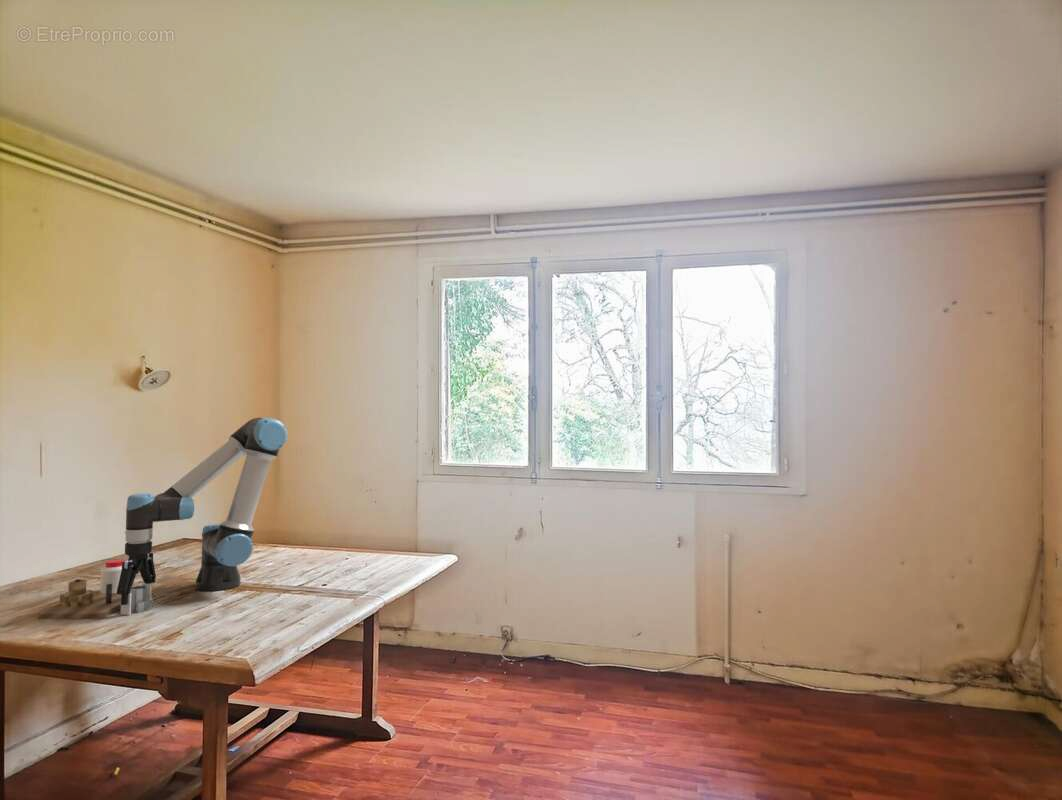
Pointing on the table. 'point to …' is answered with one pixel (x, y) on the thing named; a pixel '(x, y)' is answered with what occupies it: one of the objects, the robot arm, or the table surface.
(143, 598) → the steel gear
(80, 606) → the gear board
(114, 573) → the pill bottle
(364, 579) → the table surface
